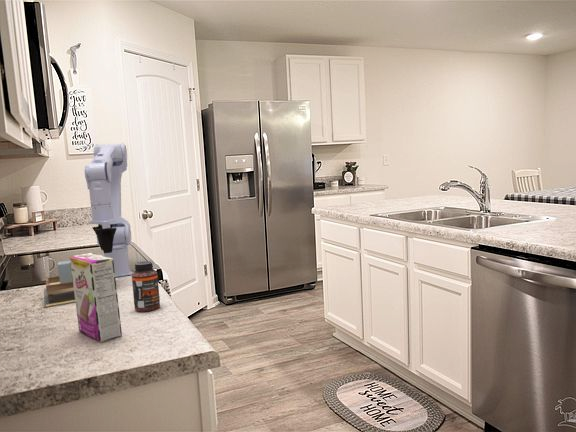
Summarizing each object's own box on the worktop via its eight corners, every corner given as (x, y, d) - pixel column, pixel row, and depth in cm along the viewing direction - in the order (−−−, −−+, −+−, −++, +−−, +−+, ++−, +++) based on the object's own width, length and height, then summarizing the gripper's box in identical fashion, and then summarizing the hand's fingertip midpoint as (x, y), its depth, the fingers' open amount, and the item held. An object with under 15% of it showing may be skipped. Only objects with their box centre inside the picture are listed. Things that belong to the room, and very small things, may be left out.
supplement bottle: (145, 313, 112) (140, 266, 111) (129, 310, 115) (124, 264, 114) (165, 306, 117) (161, 260, 115) (150, 303, 120) (145, 259, 119)
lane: (44, 289, 142) (44, 288, 142) (91, 282, 147) (91, 280, 147) (44, 308, 122) (43, 306, 122) (98, 298, 128) (98, 297, 128)
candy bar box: (77, 331, 102) (68, 256, 100) (100, 325, 106) (92, 251, 104) (99, 344, 94) (89, 262, 92) (123, 336, 98) (114, 257, 96)
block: (60, 283, 132) (57, 262, 131) (78, 280, 134) (75, 259, 133) (60, 287, 128) (57, 264, 127) (78, 284, 130) (76, 262, 129)
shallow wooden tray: (48, 294, 134) (45, 278, 133) (90, 287, 139) (88, 271, 138) (48, 304, 124) (45, 286, 123) (93, 296, 129) (91, 279, 128)
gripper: (84, 204, 143) (89, 249, 145) (88, 207, 130) (93, 256, 132) (109, 202, 146) (114, 246, 148) (115, 204, 133) (120, 252, 135)
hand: (106, 251), depth 140 cm, fingers open, 7 cm apart
